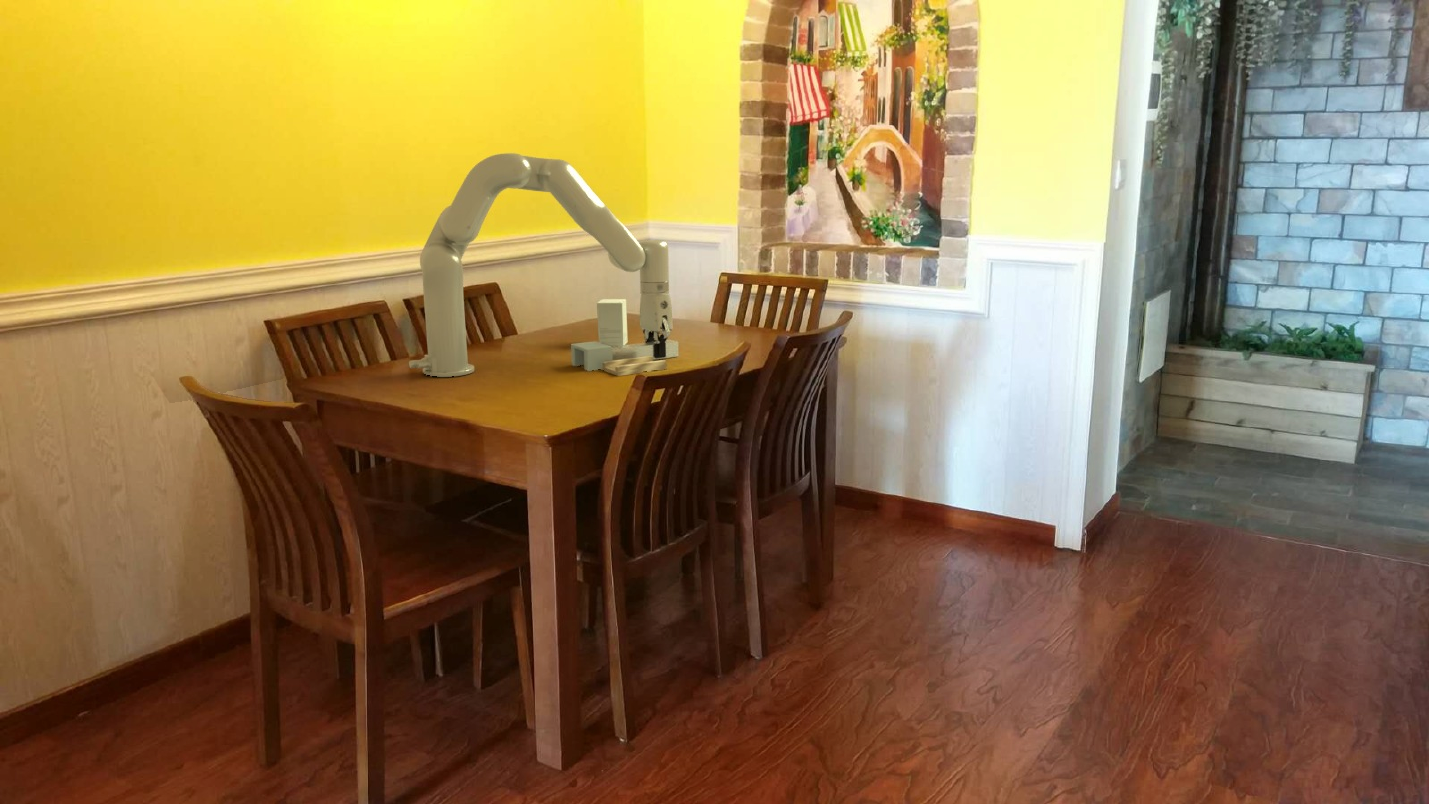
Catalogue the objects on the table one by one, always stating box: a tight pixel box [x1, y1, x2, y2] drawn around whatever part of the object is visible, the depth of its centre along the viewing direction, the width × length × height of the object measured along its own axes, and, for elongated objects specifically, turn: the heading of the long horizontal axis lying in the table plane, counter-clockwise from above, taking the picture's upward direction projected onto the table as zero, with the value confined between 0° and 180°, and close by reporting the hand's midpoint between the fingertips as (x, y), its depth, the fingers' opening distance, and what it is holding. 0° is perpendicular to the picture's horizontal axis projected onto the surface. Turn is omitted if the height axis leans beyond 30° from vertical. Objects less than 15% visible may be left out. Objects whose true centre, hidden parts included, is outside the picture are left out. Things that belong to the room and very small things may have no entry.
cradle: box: [602, 356, 668, 377], centre depth 263 cm, size 14×8×2 cm, turn 124°
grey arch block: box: [570, 341, 613, 372], centre depth 267 cm, size 7×9×6 cm
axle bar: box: [611, 339, 679, 361], centre depth 275 cm, size 20×4×4 cm, turn 124°
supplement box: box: [596, 298, 629, 347], centre depth 295 cm, size 7×7×13 cm
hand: (655, 355), depth 277 cm, fingers closed on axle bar, 4 cm apart
